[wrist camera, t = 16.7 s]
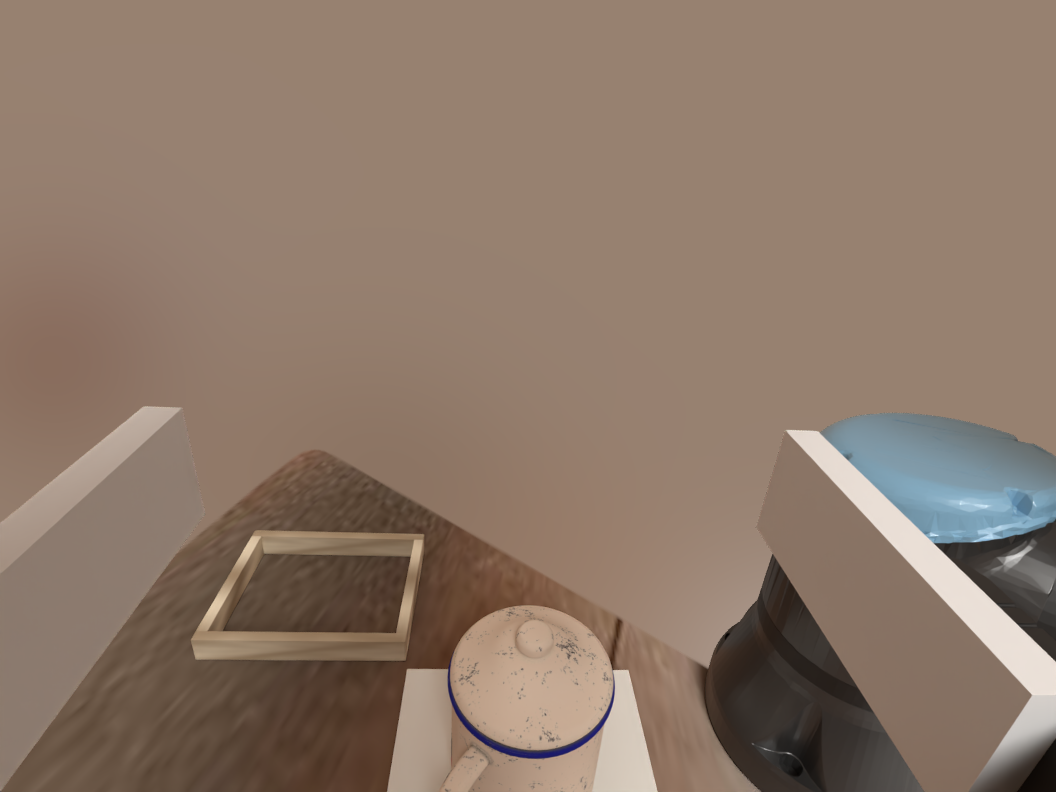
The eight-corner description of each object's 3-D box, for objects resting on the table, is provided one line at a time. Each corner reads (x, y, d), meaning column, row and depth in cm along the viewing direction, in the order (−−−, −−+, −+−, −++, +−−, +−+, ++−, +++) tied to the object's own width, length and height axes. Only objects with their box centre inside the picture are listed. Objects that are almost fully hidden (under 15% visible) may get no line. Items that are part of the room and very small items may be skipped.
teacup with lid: (507, 677, 41) (516, 549, 36) (622, 756, 36) (651, 620, 31) (376, 828, 31) (363, 683, 26) (508, 957, 27) (522, 812, 22)
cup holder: (405, 661, 43) (405, 641, 42) (195, 659, 42) (190, 640, 41) (424, 550, 54) (424, 534, 53) (258, 547, 53) (255, 530, 52)
